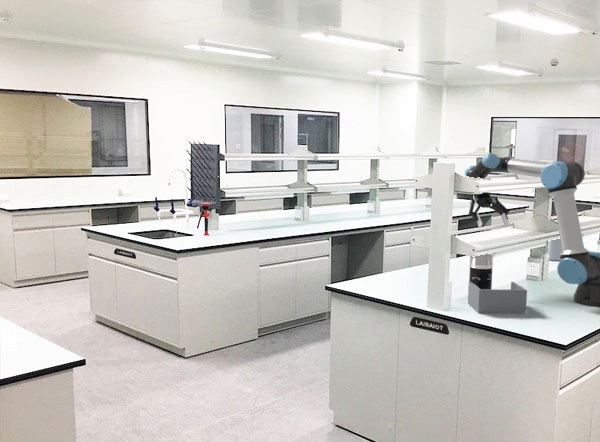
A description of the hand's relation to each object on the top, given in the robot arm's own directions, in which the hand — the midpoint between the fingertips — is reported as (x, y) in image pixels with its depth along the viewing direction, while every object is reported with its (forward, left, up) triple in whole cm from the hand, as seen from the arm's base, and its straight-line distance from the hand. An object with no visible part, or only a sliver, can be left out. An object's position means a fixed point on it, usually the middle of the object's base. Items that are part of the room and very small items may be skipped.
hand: (494, 225), depth 269 cm
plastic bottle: (-70, -88, -33) cm, 117 cm away
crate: (+7, +29, -33) cm, 44 cm away
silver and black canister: (+10, +13, -33) cm, 36 cm away
